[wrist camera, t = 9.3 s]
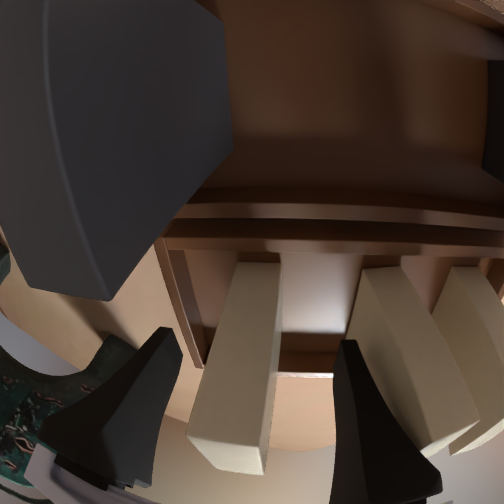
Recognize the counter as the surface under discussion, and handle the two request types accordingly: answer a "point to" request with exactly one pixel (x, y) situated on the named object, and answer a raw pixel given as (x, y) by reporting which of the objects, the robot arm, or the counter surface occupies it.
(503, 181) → the charcoal book
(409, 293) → the cream book
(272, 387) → the cream book
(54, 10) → the charcoal book
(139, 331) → the counter surface
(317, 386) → the counter surface
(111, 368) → the green mottled arch
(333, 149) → the dark wooden tray
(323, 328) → the shallow brown tray
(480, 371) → the cream book
